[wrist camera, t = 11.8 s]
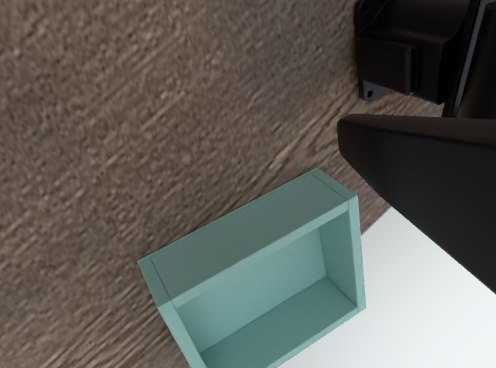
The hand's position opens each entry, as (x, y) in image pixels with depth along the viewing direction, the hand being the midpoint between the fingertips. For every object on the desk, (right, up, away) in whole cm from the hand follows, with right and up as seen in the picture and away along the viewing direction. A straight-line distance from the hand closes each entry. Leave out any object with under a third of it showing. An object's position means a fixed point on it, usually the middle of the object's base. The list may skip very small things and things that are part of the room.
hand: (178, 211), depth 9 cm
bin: (+2, -6, +21) cm, 22 cm away
